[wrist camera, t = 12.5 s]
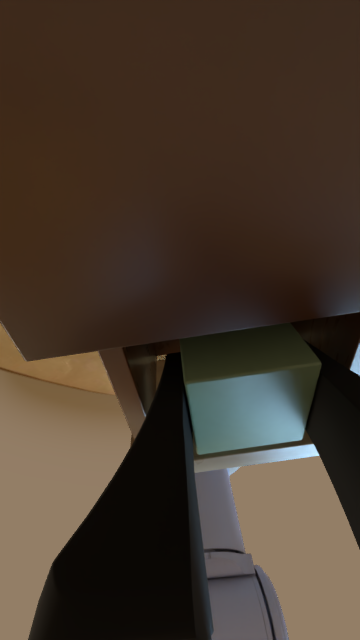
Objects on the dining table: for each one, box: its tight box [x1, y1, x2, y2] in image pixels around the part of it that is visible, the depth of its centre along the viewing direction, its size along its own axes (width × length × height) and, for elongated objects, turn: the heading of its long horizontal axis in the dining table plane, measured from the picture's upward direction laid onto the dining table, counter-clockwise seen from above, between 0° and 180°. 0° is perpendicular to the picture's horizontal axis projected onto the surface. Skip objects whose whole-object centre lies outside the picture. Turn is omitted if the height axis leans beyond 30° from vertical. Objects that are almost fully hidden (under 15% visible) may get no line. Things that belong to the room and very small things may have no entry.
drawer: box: [98, 312, 360, 473], centre depth 12 cm, size 17×10×7 cm, turn 8°
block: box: [179, 323, 322, 455], centre depth 10 cm, size 4×4×4 cm
